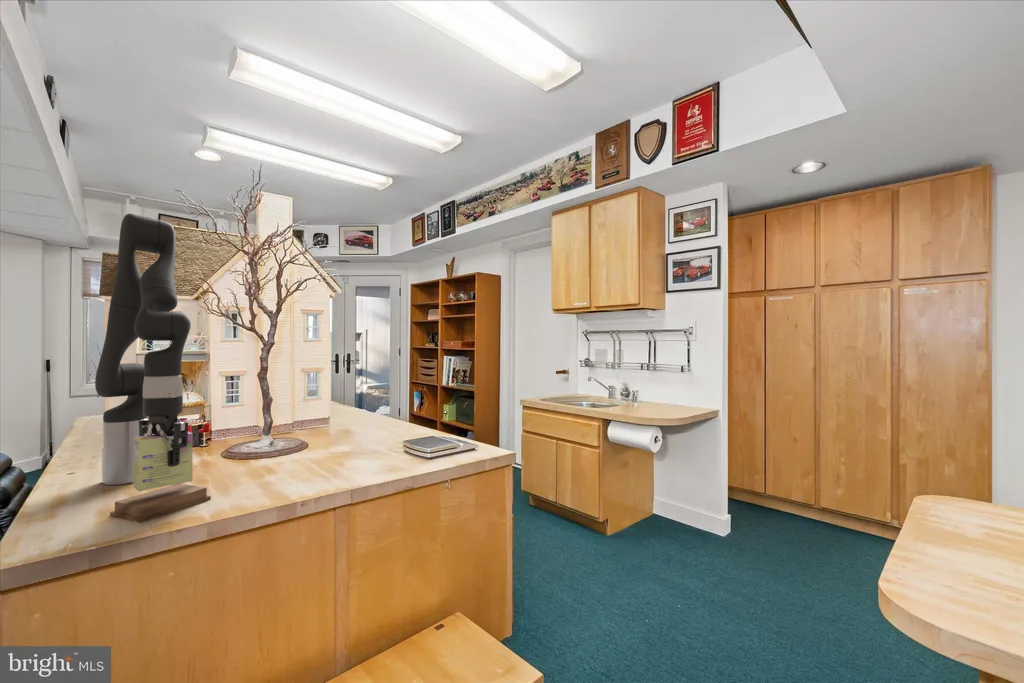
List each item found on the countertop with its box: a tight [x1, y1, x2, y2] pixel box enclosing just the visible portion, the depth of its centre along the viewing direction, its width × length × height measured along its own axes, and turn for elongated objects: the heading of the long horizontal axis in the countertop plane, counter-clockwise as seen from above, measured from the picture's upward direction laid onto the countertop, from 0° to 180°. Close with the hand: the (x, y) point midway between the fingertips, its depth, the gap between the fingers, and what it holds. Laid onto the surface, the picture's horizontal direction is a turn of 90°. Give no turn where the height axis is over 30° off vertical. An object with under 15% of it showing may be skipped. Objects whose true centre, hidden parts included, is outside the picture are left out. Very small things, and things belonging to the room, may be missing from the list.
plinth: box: [109, 483, 212, 523], centre depth 106 cm, size 11×15×3 cm
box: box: [132, 431, 193, 492], centre depth 106 cm, size 10×6×12 cm, turn 141°
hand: (163, 464), depth 106 cm, fingers closed on box, 6 cm apart
